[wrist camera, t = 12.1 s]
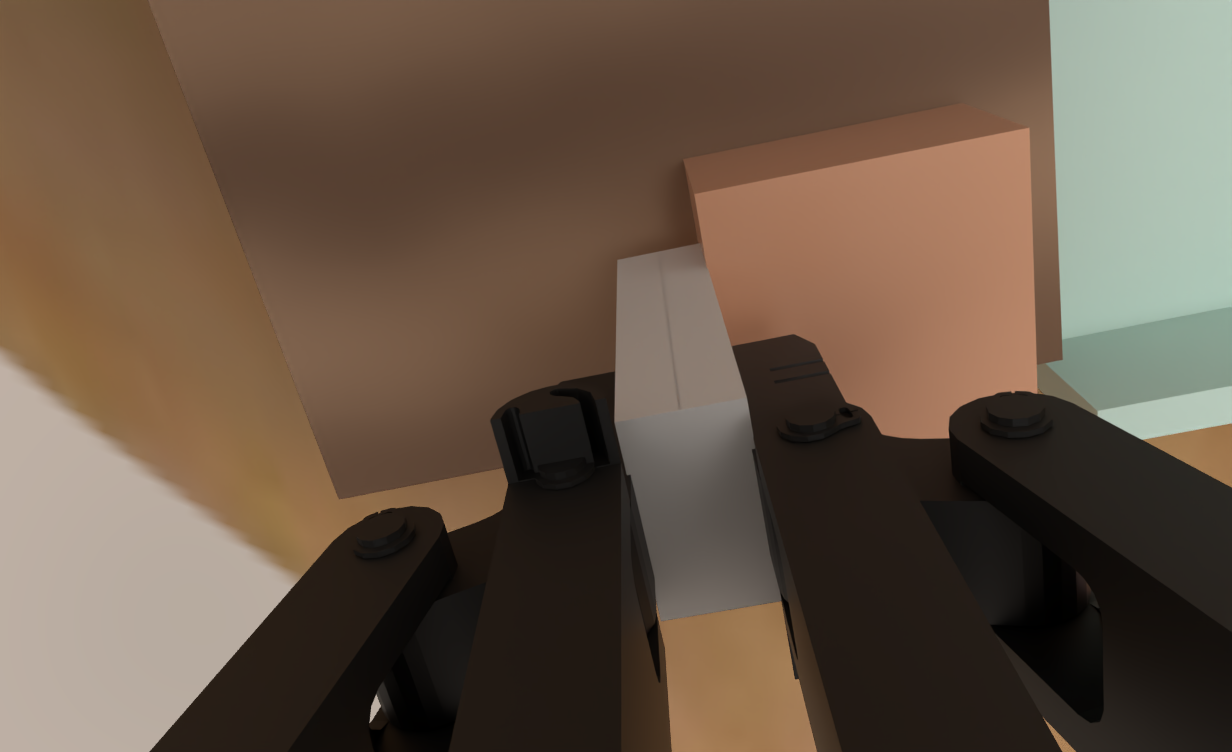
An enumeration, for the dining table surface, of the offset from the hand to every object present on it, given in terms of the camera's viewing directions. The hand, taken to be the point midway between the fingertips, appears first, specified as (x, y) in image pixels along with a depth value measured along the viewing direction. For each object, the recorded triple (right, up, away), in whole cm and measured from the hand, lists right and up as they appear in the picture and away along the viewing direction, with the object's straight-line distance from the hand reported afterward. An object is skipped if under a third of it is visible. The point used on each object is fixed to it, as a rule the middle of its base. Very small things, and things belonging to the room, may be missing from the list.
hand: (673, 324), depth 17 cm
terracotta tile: (+3, +1, +1) cm, 4 cm away
